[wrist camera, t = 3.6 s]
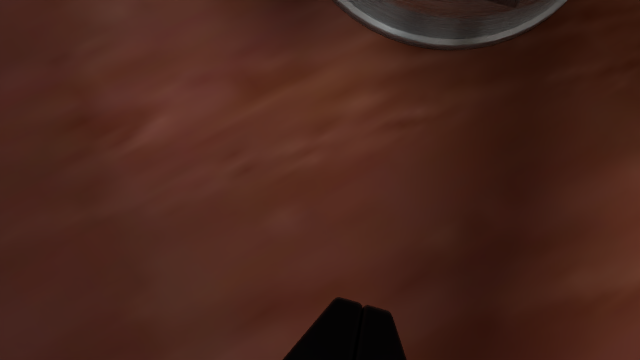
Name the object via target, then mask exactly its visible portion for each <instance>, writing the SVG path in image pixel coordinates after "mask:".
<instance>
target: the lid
mask: <svg viewBox="0 0 640 360" xmlns="http://www.w3.org/2000/svg"><path fill="white" fill-rule="evenodd" d="M485 1H489V2H493V3H497V4H501V5H504V6H508V7H512V8H517V7H518V5H519V3H520V0H485Z"/></svg>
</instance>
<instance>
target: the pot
mask: <svg viewBox="0 0 640 360" xmlns="http://www.w3.org/2000/svg"><path fill="white" fill-rule="evenodd" d="M333 1H334V2H335V3H336V5H337V6H339V7H340V8H341V9H342V10H343V11H344V12H346V13H347V14H348V15H349V16H350V17H352V18H353V19H354V20H356V21H358V22H359V23H361V24H362V25H364V26H365V27H367V28H368V29H370V30H372V31H374V32H376V33H378V34H381V35H383V36H385V37H387V38H389V39H392V40H395V41H398V42H401V43H404V44H408V45H412V46H417V47H422V48H427V49H439V50H464V49H474V48H480V47H485V46H490V45H494V44H497V43H500V42H503V41H507V40H510V39H512V38H514V37H517V36H519V35H521V34H523V33H525V32H527V31H529V30H531V29H533V28H534V27H536V26H537V25H539V24H540V23H542V22H543V21H545V20H547V19H548V18H549V17H550V16H551V15H552V14H554V13H555V12H556V11H557V10H558V9H559V8H561V7H562V6H563V5H564V4H565V2H566V1H567V0H520V3H519V5H518V7H517V8H512V7H508V6H504V5H501V4H497V3H493V2H489V1H485V0H333Z"/></svg>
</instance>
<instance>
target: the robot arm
mask: <svg viewBox="0 0 640 360" xmlns="http://www.w3.org/2000/svg"><path fill="white" fill-rule="evenodd" d="M283 360H406V357H405V354H404V350H403V347H402V344H401V341H400V338H399V335H398V332H397V329H396V326H395V323H394V320H393V317H392V315H391V313H390V312H389V311H387V310H383V309H380V308H376V307H373V306H369V305H366V306H364V307H363V308H362V305H361V304H360V303H358V302H355V301H351V300H348V299H344V298H341V297H337V298H335V299H334V300H333V301H332V302H331V303H330V304H329V306H328V307H327V308H326V309H325V310H324V311H323V313H322V314H321V315H320V316H319V317H318V319H317V320H316V321H315V322H314V323H313V324H312V326H311V327H310V328H309V329H308V330H307V332H306V333H305V334H304V335H303V336H302V337H301V339H300V340H299V341H298V342H297V343H296V345H295V346H294V347H293V348H292V349H291V350H290V352H289V353H288V354H287V355H286V356H285V358H284V359H283Z"/></svg>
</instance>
